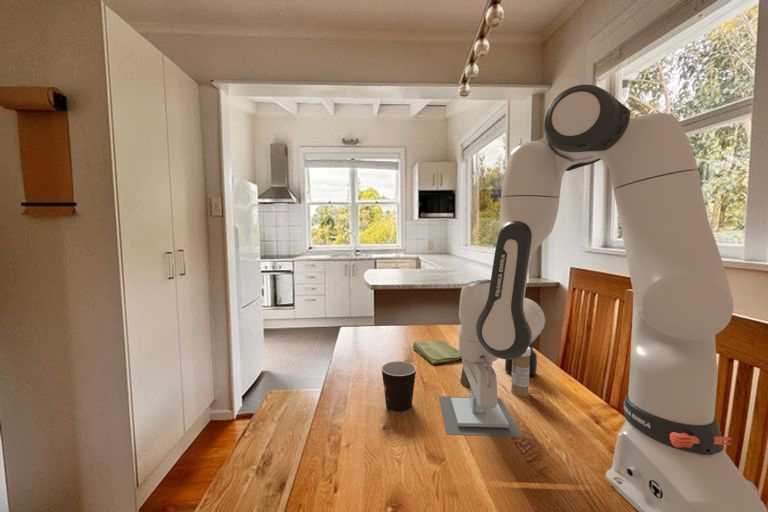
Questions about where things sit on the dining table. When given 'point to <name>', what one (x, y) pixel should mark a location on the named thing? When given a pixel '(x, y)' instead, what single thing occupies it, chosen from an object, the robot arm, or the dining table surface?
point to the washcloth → (437, 351)
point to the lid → (477, 414)
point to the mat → (454, 429)
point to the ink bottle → (532, 363)
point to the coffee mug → (398, 385)
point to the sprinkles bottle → (521, 374)
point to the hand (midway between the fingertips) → (477, 405)
